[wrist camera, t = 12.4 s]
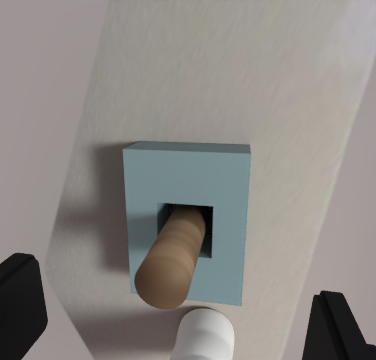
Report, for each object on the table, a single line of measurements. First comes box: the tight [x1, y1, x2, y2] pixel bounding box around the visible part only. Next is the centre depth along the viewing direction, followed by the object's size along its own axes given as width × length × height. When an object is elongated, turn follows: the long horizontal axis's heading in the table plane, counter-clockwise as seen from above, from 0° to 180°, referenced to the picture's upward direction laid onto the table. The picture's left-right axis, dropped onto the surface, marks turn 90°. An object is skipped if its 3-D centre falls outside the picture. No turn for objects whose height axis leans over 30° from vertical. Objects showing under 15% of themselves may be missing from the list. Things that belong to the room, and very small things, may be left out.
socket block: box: [123, 141, 251, 306], centre depth 32 cm, size 16×12×5 cm
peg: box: [134, 204, 210, 309], centre depth 28 cm, size 4×4×14 cm
